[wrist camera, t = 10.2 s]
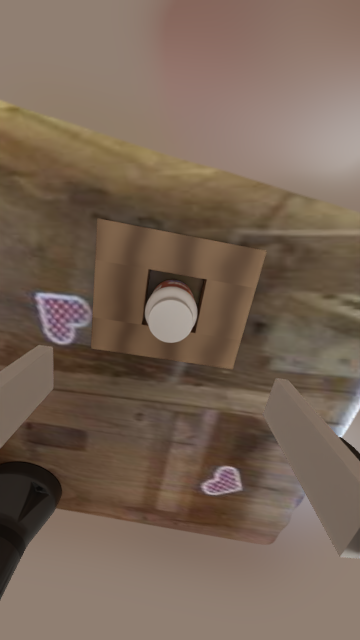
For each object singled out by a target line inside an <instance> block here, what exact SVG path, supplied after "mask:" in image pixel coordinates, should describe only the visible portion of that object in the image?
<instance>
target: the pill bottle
mask: <svg viewBox="0 0 360 640" xmlns="http://www.w3.org/2000/svg"><path fill="white" fill-rule="evenodd" d="M145 318H146V321H147V323H148V325H149V329H150V331H151V332H152V334H153V335H154V336H155V337H156V338H157V339H159V340H161V341H163V342H168V343H174V342H178V341H181V340H183V339H184V338H186V337H187V336H188V335H189V333H190V332H191V330H192V328H193V326H194V325H195V322H196V319H197V306H196V303H195V300H194V297H193V294H192V292H191V290H190V288H189V287H188V286H187V285H186V284H185V283H184V282H182V281H179V280H175V279H169V280H165V281H163V282H161V283H160V284H159V285H158V286H157V287H156V288H155V290H154V291H153V293H152V295H151V296H150V298H149V300H148V302H147V304H146V308H145Z"/></svg>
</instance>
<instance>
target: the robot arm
mask: <svg viewBox="0 0 360 640" xmlns="http://www.w3.org/2000/svg"><path fill="white" fill-rule="evenodd" d="M53 388H54V383H53V347H50V346H43V345H38V346H37V347H35V348H34V349H32V350H31V351H29V352H28V353H26V354H25V355H23V356H22V357H21V358H19V359H18V360H16V361H15V362H13V363H12V364H10V365H9V366H7V367H6V368H4V369H3V370H2V371H0V448H1V447H2V446H3V445H4V444H5V443H6V441H7V440H8V439H9V438H10V437H11V436H12V435H13V434H14V432H15V431H16V430H17V429H18V428H19V427H20V426H21V425H22V423H23V422H24V421H25V420H26V419H27V418H28V417H29V415H30V414H31V413H32V412H33V411H34V410H35V409H36V408H37V406H38V405H39V404H40V403H41V402H42V401H43V400H44V399H45V397H46V396H47V395H48V394H49V393H50V392H51V391H52V390H53ZM263 416H264V418H265V420H266V422H267V423H268V425H269V427H270V429H271V431H272V433H273V434H274V436H275V438H276V440H277V442H278V444H279V446H280V447H281V449H282V451H283V453H284V455H285V457H286V458H287V460H288V462H289V464H290V466H291V468H292V470H293V471H294V473H295V475H296V477H297V479H298V481H299V482H300V484H301V486H302V488H303V490H304V492H305V493H306V495H307V497H308V499H309V501H310V503H311V505H312V506H313V508H314V510H315V512H316V514H317V516H318V517H319V519H320V521H321V523H322V525H323V527H324V528H325V530H326V532H327V534H328V536H329V538H330V540H331V541H332V543H333V545H334V547H335V549H336V550H337V552H338V554H339V556H340V557H347V558H360V453H359V452H358V451H357V450H356V449H355V448H354V447H352V446H351V445H350V444H349V443H348V442H346V441H345V440H344V439H343V438H341V437H338V436H337V435H336V434H335V433H334V431H333V430H332V429H331V428H330V427H329V426H328V425H327V424H326V422H325V421H324V420H323V419H322V418H321V417H320V416H319V415H318V413H317V412H316V411H315V410H314V409H313V408H312V407H311V406H310V404H309V403H308V402H307V401H306V400H305V399H304V398H303V396H302V395H301V394H300V393H299V392H298V391H297V390H296V389H295V387H294V386H293V385H292V384H291V383H290V382H289V381H288V380H285V379H278V378H276V379H275V382H274V385H273V388H272V390H271V393H270V396H269V399H268V401H267V404H266V407H265V410H264V413H263ZM60 498H61V487H60V484H59V483H58V481H57V480H56V478H55V477H54V476H53V475H52V474H50V473H49V472H48V471H46V470H44V469H43V468H41V467H38V466H36V465H32V464H28V463H22V462H11V463H5V464H2V465H0V599H1V597H2V595H3V593H4V591H5V589H6V587H7V585H8V583H9V581H10V579H11V577H12V575H13V573H14V571H15V569H16V567H17V565H18V563H19V561H20V559H21V557H22V555H23V553H24V551H25V549H26V547H27V546H28V544H29V543H30V541H31V540H32V539H33V538H34V536H35V535H36V534H37V533H38V531H39V530H40V529H41V528H42V526H43V525H44V524H45V523H46V521H47V520H48V519H49V518H50V516H51V515H52V514H53V512H54V510H55V509H56V506H57V504H58V502H59V500H60Z"/></svg>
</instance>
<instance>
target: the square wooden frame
mask: <svg viewBox="0 0 360 640" xmlns="http://www.w3.org/2000/svg"><path fill="white" fill-rule="evenodd" d="M266 252H267V251H265V250H260V249H254V248H249V247H244V246H239V245H233V244H228V243H223V242H218V241H213V240H207V239H202V238H197V237H192V236H187V235H181V234H176V233H171V232H166V231H161V230H155V229H150V228H145V227H140V226H134V225H129V224H124V223H119V222H114V221H108V220H103V219H98V218H97V237H96V258H95V278H94V298H93V318H92V339H91V348H92V349H98V350H105V351H112V352H119V353H126V354H133V355H139V356H146V357H153V358H160V359H167V360H174V361H181V362H187V363H194V364H201V365H208V366H215V367H222V368H228V369H233V366H234V362H235V359H236V355H237V352H238V349H239V345H240V342H241V338H242V335H243V331H244V328H245V324H246V321H247V317H248V314H249V310H250V307H251V304H252V300H253V297H254V293H255V290H256V286H257V283H258V279H259V276H260V272H261V269H262V266H263V262H264V259H265V255H266ZM150 269H151V270H156V271H162V272H167V273H173V274H179V275H184V276H190V277H196V278H201V279H204V282H203V287H202V291H201V296H200V301H199V306H198V310H197V319H196V322H195V325H194V327H193V328H192V330H191V332H190V333H189V335H188V336H187V337H186V338H184V339H183V340H181V341H178V342H174V343H168V342H163V341H161V340H159V339H157V338H156V337H155V336H154V335H153V334H152V332H151V331H150V329H149V325H148V323H147V321H146V320H144V315H145V307H146V300H147V292H148V284H149V276H150Z"/></svg>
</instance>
